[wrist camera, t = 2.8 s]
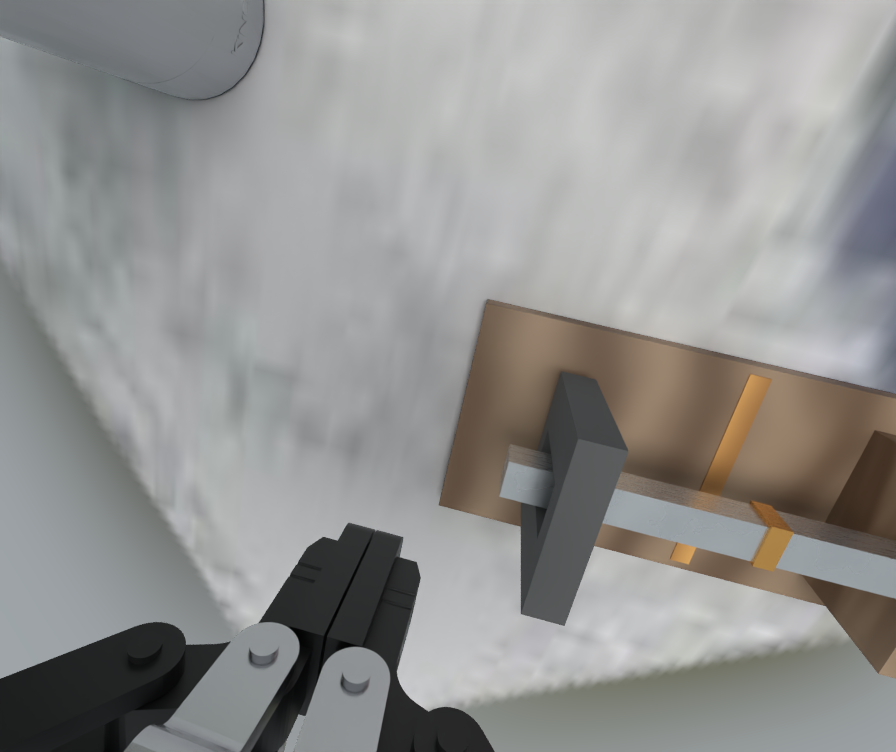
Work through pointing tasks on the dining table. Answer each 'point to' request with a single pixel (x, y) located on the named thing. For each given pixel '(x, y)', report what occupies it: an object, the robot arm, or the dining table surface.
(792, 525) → the light grey beam
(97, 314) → the dining table surface
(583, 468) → the dark grey block
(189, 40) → the robot arm
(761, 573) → the base board
